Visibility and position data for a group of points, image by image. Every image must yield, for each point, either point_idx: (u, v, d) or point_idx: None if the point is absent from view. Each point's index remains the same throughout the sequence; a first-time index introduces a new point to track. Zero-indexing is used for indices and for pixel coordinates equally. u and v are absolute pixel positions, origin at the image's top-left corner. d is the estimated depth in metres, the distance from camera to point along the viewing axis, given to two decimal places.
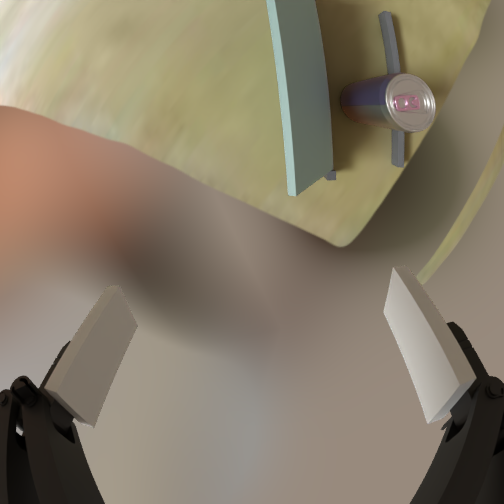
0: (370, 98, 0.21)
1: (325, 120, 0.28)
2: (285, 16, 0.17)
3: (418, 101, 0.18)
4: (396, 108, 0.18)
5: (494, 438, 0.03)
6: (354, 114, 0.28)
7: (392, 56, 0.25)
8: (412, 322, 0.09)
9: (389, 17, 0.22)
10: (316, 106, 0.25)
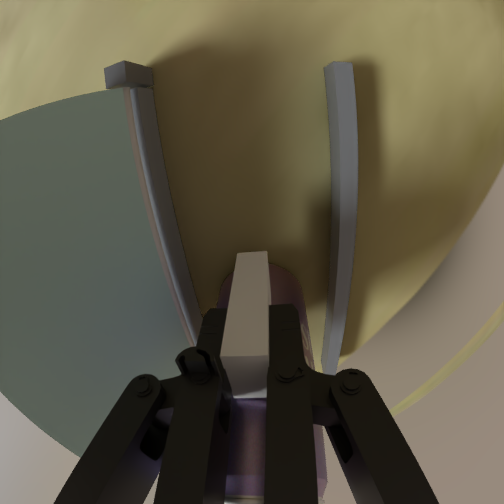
0: None
1: (173, 368, 0.17)
2: None
3: None
4: None
5: (312, 420, 0.06)
6: None
7: (340, 201, 0.14)
8: None
9: (347, 80, 0.11)
10: None
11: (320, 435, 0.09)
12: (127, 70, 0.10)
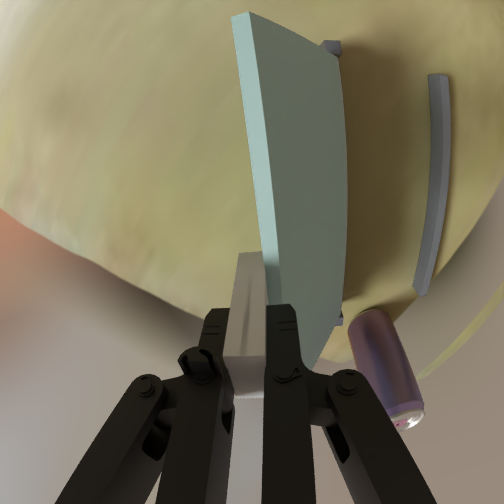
0: None
1: (338, 274, 0.22)
2: (290, 160, 0.11)
3: (406, 421, 0.19)
4: None
5: (309, 420, 0.06)
6: None
7: (442, 152, 0.19)
8: None
9: (446, 85, 0.15)
10: (328, 276, 0.19)
11: None
12: None
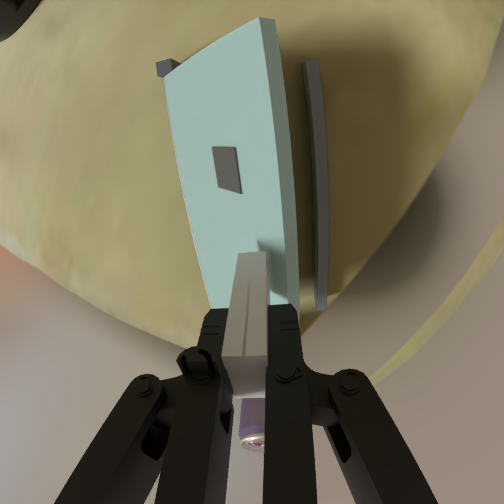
0: None
1: None
2: None
3: None
4: (251, 444, 0.20)
5: (310, 420, 0.06)
6: None
7: (314, 151, 0.20)
8: None
9: (315, 71, 0.17)
10: None
11: None
12: (172, 65, 0.16)
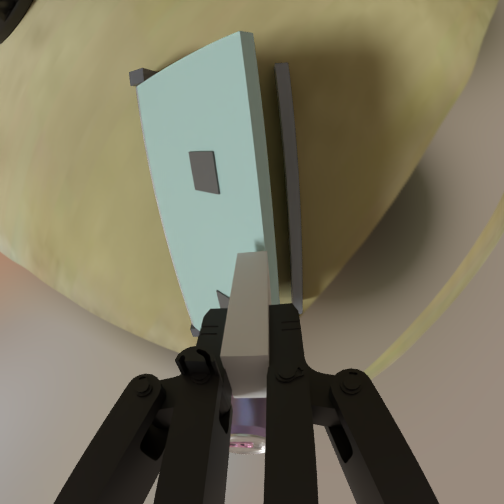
0: None
1: None
2: None
3: (252, 444, 0.20)
4: None
5: (312, 420, 0.06)
6: None
7: (284, 155, 0.20)
8: None
9: (285, 74, 0.17)
10: None
11: None
12: (144, 74, 0.16)
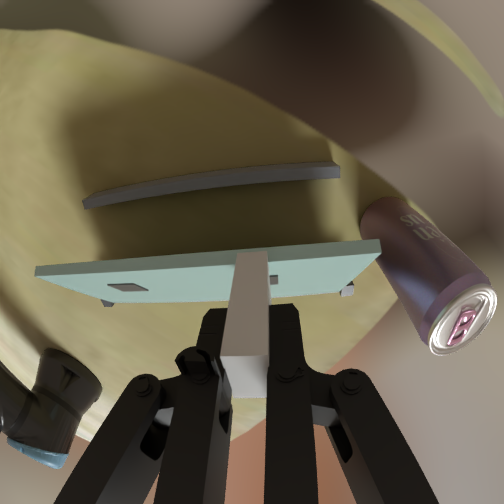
0: None
1: None
2: None
3: (469, 312, 0.12)
4: (457, 341, 0.13)
5: (312, 420, 0.06)
6: None
7: None
8: None
9: (90, 201, 0.23)
10: None
11: (449, 255, 0.13)
12: None
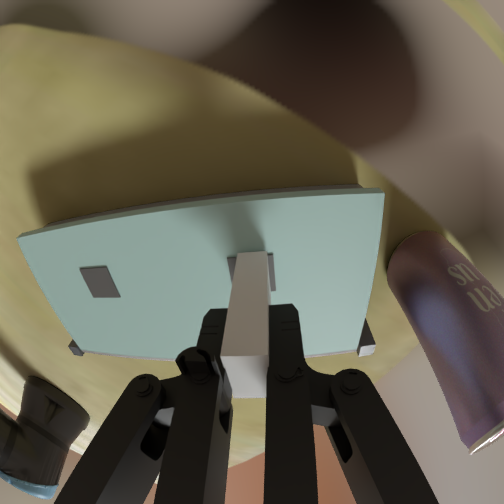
0: None
1: None
2: None
3: None
4: (499, 434, 0.06)
5: (312, 420, 0.06)
6: None
7: None
8: None
9: None
10: None
11: None
12: (73, 344, 0.20)
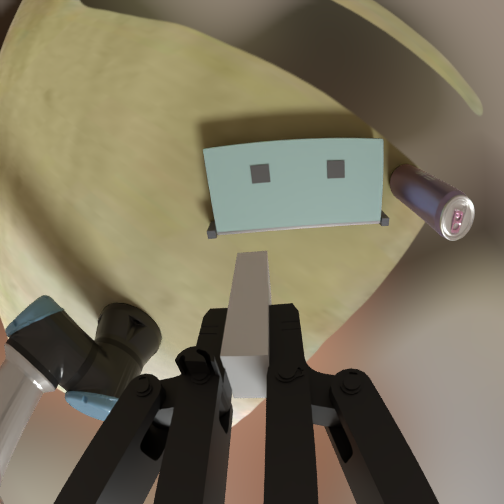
0: None
1: None
2: None
3: (458, 211, 0.23)
4: (456, 232, 0.24)
5: (312, 420, 0.06)
6: None
7: None
8: None
9: None
10: None
11: (444, 185, 0.25)
12: (210, 230, 0.39)
